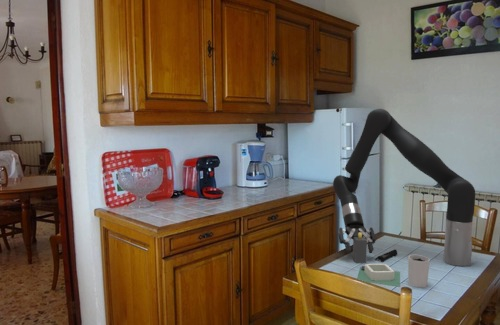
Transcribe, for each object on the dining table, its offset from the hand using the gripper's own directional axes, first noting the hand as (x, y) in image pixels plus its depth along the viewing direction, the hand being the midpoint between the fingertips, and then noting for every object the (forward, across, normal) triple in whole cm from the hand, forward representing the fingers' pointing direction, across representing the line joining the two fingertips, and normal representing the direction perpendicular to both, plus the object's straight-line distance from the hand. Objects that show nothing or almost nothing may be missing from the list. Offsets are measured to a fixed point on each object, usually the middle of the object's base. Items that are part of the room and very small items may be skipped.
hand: (360, 252), depth 151 cm
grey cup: (+18, +13, -11) cm, 25 cm away
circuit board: (+13, +2, -6) cm, 15 cm away
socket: (+13, +2, -7) cm, 15 cm away
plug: (+3, 0, +4) cm, 5 cm away
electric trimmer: (0, +12, +8) cm, 15 cm away
